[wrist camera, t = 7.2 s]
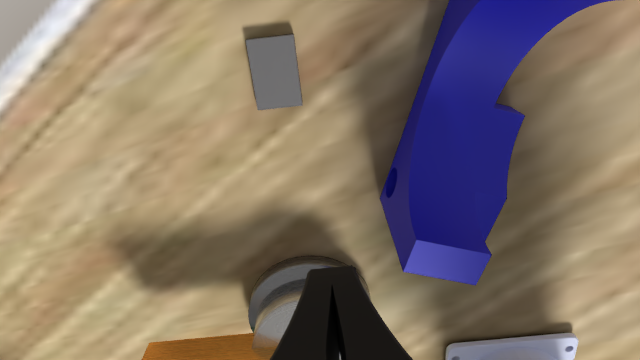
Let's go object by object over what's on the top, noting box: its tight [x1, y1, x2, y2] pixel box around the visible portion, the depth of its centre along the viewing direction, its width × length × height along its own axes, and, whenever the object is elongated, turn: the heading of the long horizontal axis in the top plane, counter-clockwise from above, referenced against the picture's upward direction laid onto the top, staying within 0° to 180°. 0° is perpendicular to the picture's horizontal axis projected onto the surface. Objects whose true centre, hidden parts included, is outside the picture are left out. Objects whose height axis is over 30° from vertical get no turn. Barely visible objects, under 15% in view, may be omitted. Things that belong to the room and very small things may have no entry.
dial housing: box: [248, 256, 371, 333], centre depth 23 cm, size 7×7×1 cm
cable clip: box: [380, 0, 613, 285], centre depth 16 cm, size 12×4×6 cm, turn 166°
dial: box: [142, 279, 341, 360], centre depth 21 cm, size 12×6×4 cm, turn 96°
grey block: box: [246, 34, 302, 110], centre depth 18 cm, size 3×2×1 cm, turn 6°
